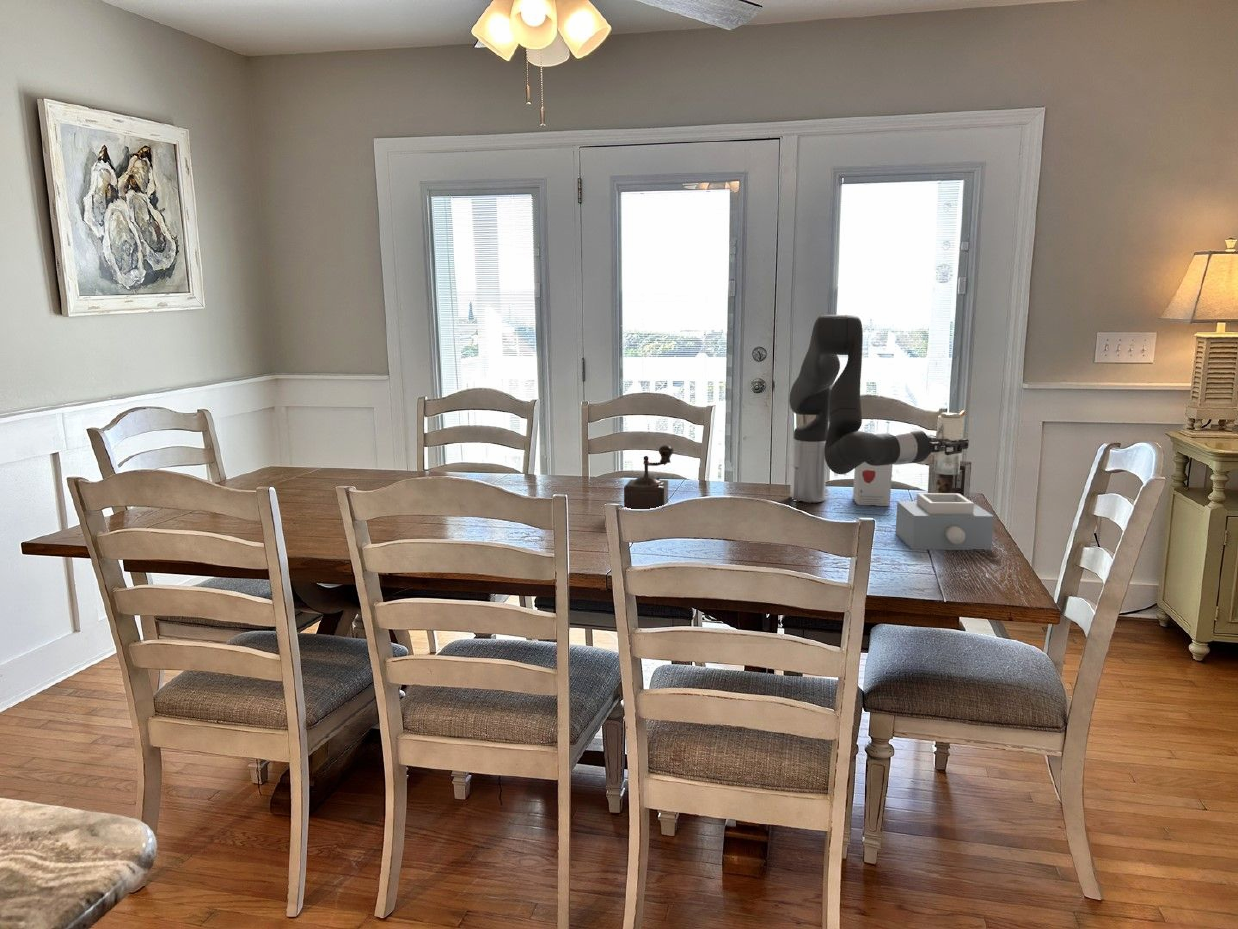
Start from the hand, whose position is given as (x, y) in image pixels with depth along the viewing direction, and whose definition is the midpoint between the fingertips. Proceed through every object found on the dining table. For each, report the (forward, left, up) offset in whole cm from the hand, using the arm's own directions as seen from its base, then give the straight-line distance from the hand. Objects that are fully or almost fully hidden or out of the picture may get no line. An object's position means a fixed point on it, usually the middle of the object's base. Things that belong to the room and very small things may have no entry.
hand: (956, 441), depth 214 cm
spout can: (-2, -1, -7) cm, 7 cm away
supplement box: (-9, +38, -24) cm, 46 cm away
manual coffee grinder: (-71, +21, -24) cm, 78 cm away
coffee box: (+4, +15, -24) cm, 28 cm away
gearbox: (-2, -3, -24) cm, 24 cm away
